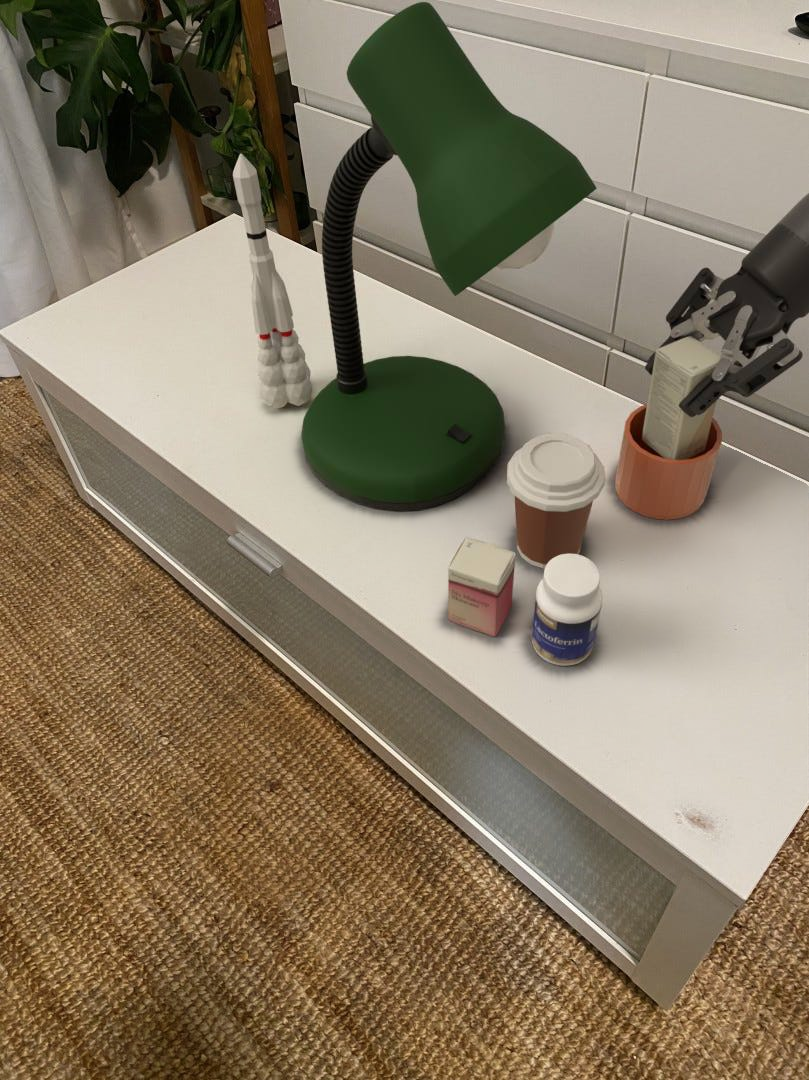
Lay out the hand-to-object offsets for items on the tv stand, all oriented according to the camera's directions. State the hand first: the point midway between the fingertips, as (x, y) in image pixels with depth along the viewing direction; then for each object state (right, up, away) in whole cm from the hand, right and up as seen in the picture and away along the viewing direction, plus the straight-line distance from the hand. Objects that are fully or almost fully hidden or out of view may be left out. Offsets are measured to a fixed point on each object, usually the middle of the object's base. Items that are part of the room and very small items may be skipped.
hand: (668, 392), depth 81 cm
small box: (-18, -21, +1) cm, 28 cm away
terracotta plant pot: (+2, -8, +10) cm, 14 cm away
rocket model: (-39, +3, +24) cm, 46 cm away
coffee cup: (-10, -15, +6) cm, 19 cm away
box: (+2, -4, +6) cm, 8 cm away
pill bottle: (-10, -24, -2) cm, 26 cm away
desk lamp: (-22, -4, +16) cm, 27 cm away
